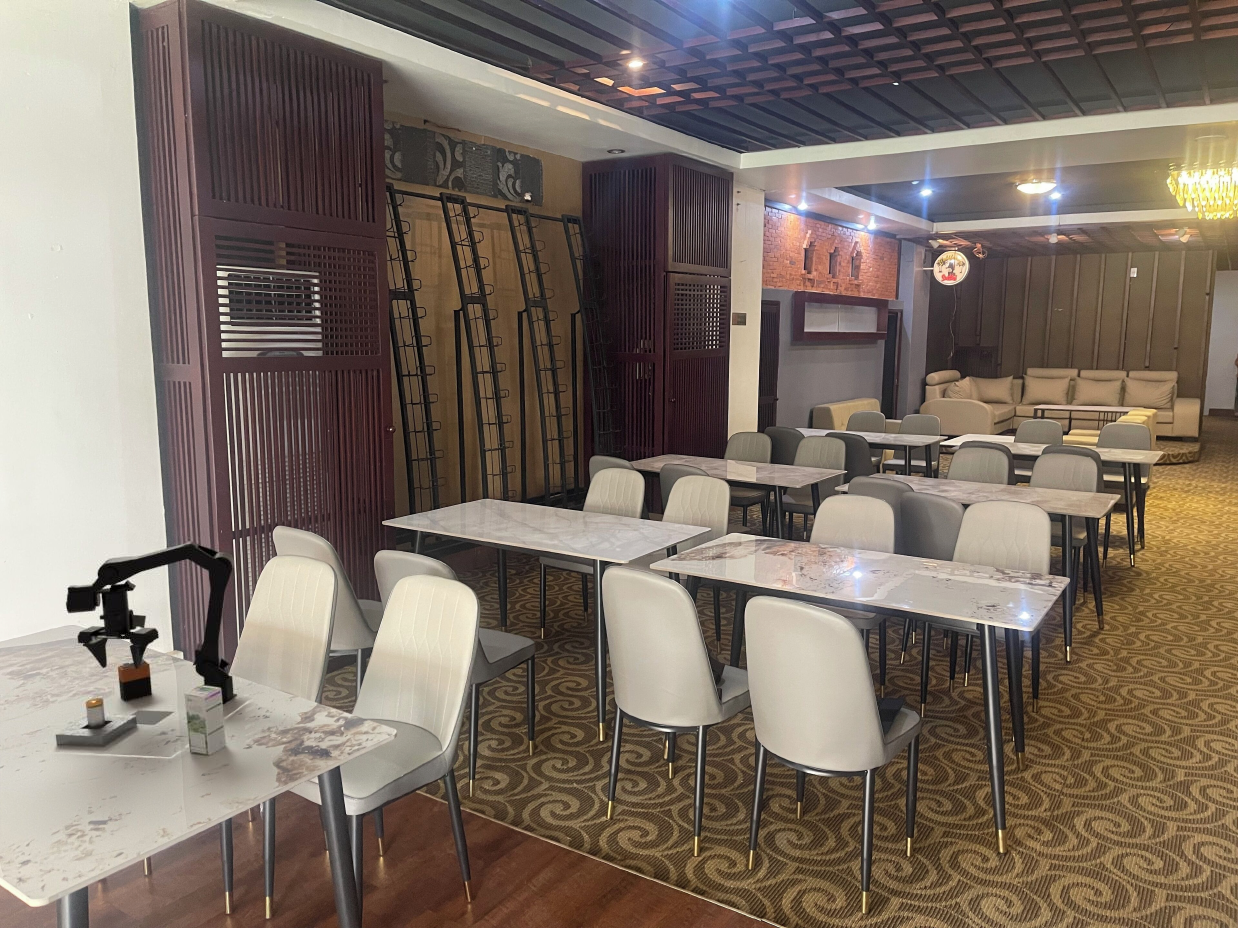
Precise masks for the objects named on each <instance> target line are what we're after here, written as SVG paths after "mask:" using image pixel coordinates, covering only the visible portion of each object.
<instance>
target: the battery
mask: <svg viewBox="0 0 1238 928" xmlns="http://www.w3.org/2000/svg"><path fill="white" fill-rule="evenodd" d="M150 667H151V666H150V664H149V662H148V661H146V660H145V659H144V658H142V662H141V665H140V668H138V669H135V666H134V663H133V662H132V663H130V662H125V663H122V665H119V666H118V667H117V671H118V673H117V674H118V683H119V684H118V685H119V693H120V695H119V696H120V699H121V700H122V701H124V702H130V701H134V700H137V699H142V698H145V697H149V696H152V695H153V691H152V690H153V689H152V678H151V669H150Z"/></svg>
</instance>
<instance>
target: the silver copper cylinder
mask: <svg viewBox="0 0 1238 928" xmlns="http://www.w3.org/2000/svg"><path fill="white" fill-rule="evenodd" d="M104 705H105V704H104V698H101V697H95V698H92V699H88V700H87V701H86V702H85V707H86V709H85V710H86V717H87V720H88V729H101V728H102V727H104V726H106V725H105V706H104Z"/></svg>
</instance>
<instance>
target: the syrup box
mask: <svg viewBox="0 0 1238 928" xmlns="http://www.w3.org/2000/svg"><path fill="white" fill-rule="evenodd" d="M184 700H185V711H186V712H185V713H186V724H187V733H188V745H189V746H188V747H189V753H192V754H199V755H205V756H210V755H213V754H214V753H216V752H218V751H220V750H221V749H223V748H225V747H226V746H227V742H226V734H225V732H226V731H225V730H226V729H225V721H224V720H225V719H224V708H223V706H224V704H222V693H221V688H218V687H211V686H203V684H202V685H200V686H197V687H194V688H192V689H190V690H189V691H186V692H185V693H184Z"/></svg>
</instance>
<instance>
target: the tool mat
mask: <svg viewBox="0 0 1238 928" xmlns="http://www.w3.org/2000/svg"><path fill="white" fill-rule="evenodd" d="M173 713H174V711H169V710H167V711H166V710H165V711H163V710H142V709H139V710H137V711H135V712H133V713H132V714H130V715H134V716H136V720H137V725H149V726H151V725H152V726H153V725H154V726H155V725H156V724H158V723H160V722H162V720H164V719H166V718H167V717H169V716H170V715H172V714H173Z"/></svg>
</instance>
